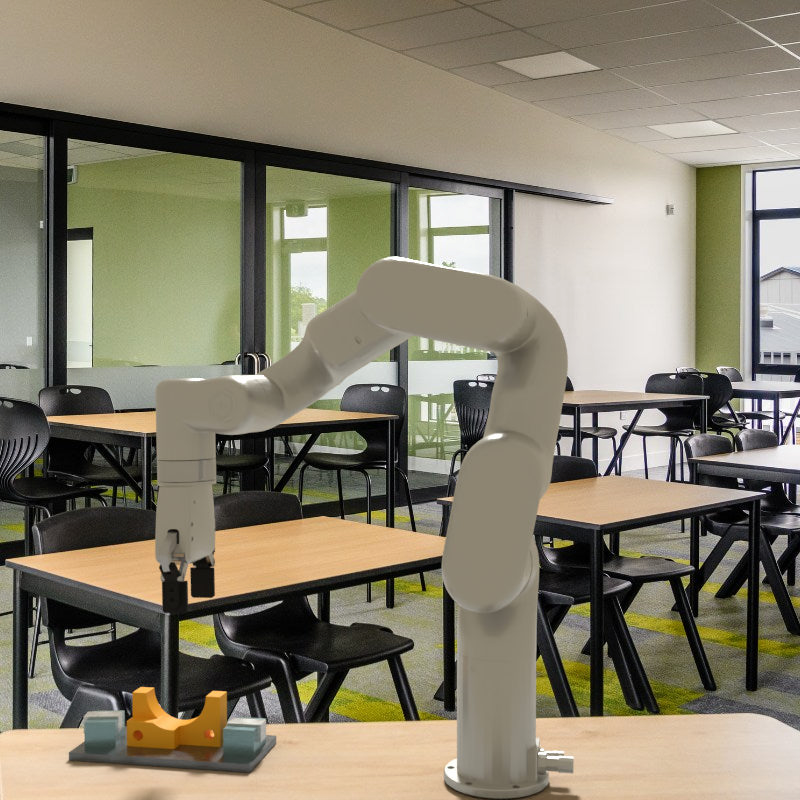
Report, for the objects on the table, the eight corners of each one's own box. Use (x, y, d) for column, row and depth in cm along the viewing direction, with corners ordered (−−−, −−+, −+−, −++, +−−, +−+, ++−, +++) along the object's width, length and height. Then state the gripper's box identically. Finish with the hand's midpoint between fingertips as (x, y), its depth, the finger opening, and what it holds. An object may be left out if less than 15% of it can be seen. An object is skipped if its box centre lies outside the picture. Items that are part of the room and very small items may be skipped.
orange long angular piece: (126, 746, 139) (126, 696, 139) (140, 735, 143) (140, 686, 143) (215, 751, 137) (215, 701, 137) (226, 740, 141) (226, 691, 141)
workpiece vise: (276, 743, 143) (276, 709, 143) (249, 772, 132) (249, 736, 132) (106, 732, 147) (106, 699, 147) (67, 760, 137) (67, 724, 137)
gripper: (184, 468, 149) (186, 591, 149) (131, 479, 132) (134, 618, 132) (236, 467, 147) (238, 592, 148) (190, 479, 130) (193, 619, 131)
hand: (189, 604), depth 140 cm, fingers open, 9 cm apart
